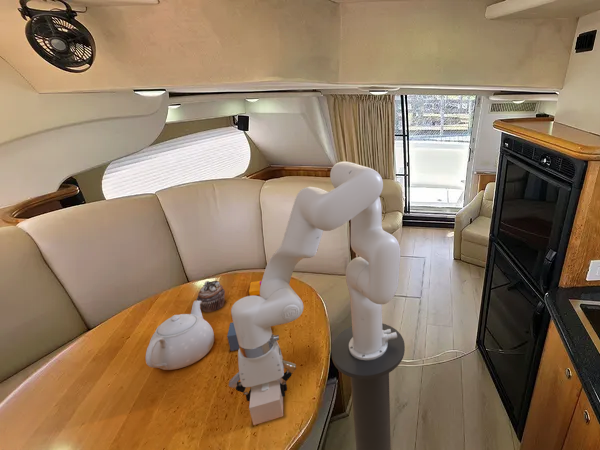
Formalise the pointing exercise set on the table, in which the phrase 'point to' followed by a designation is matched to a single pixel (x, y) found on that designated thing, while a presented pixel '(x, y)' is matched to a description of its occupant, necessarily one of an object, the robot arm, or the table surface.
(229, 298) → the table surface
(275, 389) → the front tissue box
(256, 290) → the orange square block
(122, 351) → the table surface
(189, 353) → the teapot
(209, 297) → the cupcake
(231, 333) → the back tissue box
